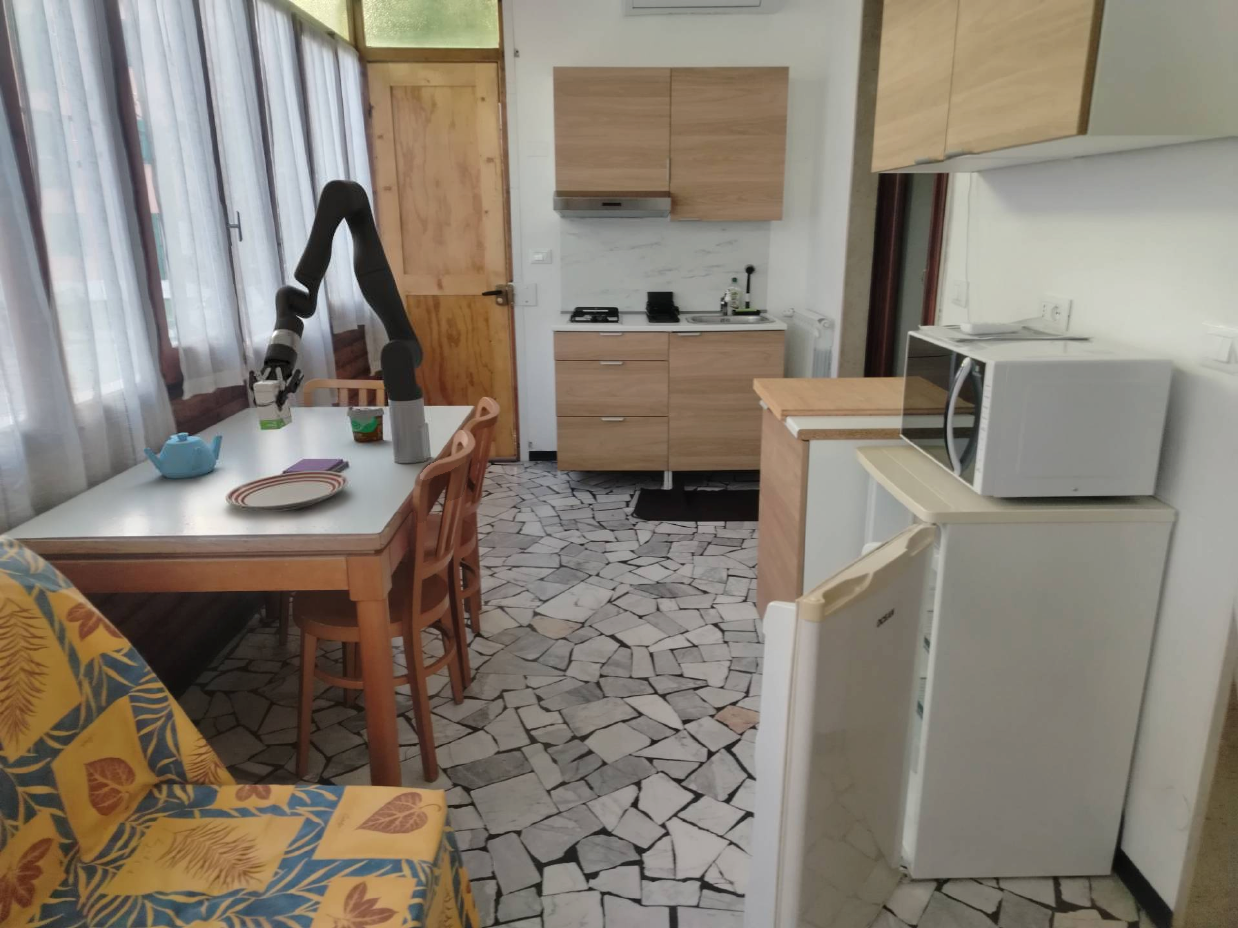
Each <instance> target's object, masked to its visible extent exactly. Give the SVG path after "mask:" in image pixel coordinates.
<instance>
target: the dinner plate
mask: <svg viewBox="0 0 1238 928" xmlns="http://www.w3.org/2000/svg"><path fill="white" fill-rule="evenodd" d="M348 483H349V478H348V477H347V475H345V474H342V473H341V472H338V473H336V472H330V471H304V472H293V473H286V474H281V473H280V474H274V475H271V476H270V475H269V476H266V477H262V478H258V479H255V480H254V479H253V480H251V481H249V482H245V483H242V484H240V485H239V486H236V487H234V488H233V489H231V490H230V491H229V492H227V493H226V495H225V501H226V502H227V504H230V505H232V506H237V507H240V508H241V507H242V508H245V509H253V510H257V511H258V510H259V511H266V512H267V511H269V512H271V511H273V512H274V511H277V512H279V511H289V510H290V511H291V510H295V509H301V508H305V507H309V506H312V505H316V504H318V503H320V502H322V501H324V500H326V499H329V498H331V497H332V496H334V495H336V494H337V493H339V492H340V491H342V490H343V489H345V488H346V486H347V485H348Z"/></svg>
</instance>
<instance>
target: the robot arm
mask: <svg viewBox="0 0 1238 928" xmlns="http://www.w3.org/2000/svg"><path fill="white" fill-rule="evenodd" d="M343 220H345V222H346V224H347V227H348V230H349V232H350V235H351V238H352V239H351V240H352V246H353V248H352V252H353V253H352V266H353V272H354V276H355V278H356V281H357V284H358V287H359V290H360V292H361V294H362V296H363V299H364V300H365V302H366V303H367V304H368V306H369V307H370V308H371V310H372V311H373V312H374V313H375V314H376V316H377V317H378V319H379V320H380V321H381V323H382V325H383V327H384V330H385V333H386V336H387V339H388V342H386V343H385V344H384V345H383V346H382V348H381V350H380V357H379V358H380V359H379V360H380V369H381V376H382V382H383V387H384V390H385V392H386V394H387V400H388V401H387V402H388V408H389V409H388V411H389V420H390V430H391V431H390V432H391V441H392V450H393V459H394V462H395V463H398V464H415V463H424V462H426V461H427V460H428V459H429V458H430V457H431V456H432V454H431V453H432V451H431V444H430V431H429V423H428V422H426V417H425V416H426V415H425V414H426V413H425V404H424V393H423V387H422V386H421V385H419V384H418V383H417V380H416V372H415V370H417V369H418V368H419V367H420V366H421V365H422V363H423V360H424V351H423V347H422V345H421V342H420V341H419V338H418V336H417V334H416V332H415V329H414V327H413V325H412V323H411V322H410V319H409V317H408V314H407V312H406V308H405V305H404V302H403V300H402V297H401V295H400V292H399V290H398V286H397V285H398V284H397V282H396V279H395V278H394V277H395V276H394V274H393V272H392V271H393V270H392V269H391V266H390V263H389V261H388V259H387V256H386V253H385V250H384V247H383V245H382V244H383V243H382V241H381V238H380V236H379V234H378V231H377V227H376V223H375V220H374V216H373V211H372V207H371V203H370V200H369V197H368V194H367V192H366V190H365V188H364V187H363V186H362V185H361V184H360V183H359V182H357V181H355V180H348V179H333V180H329V181H327V183H326V184H325V185H324V186H323V188H322V189H321V192H320V196H319V199H318V204H317V207H316V211H315V216H314V218H313V222H312V226H311V231H310V233H309V237H308V239H307V242H306V246H305V247H304V249H303V252H302V254H301V257H300V258H299V261H298V263H297V264H296V265H297V266H296V268H295V270H294V272H293V277H294V279H295V281H297V282H298V283H300V284H301V285H302V286H303V287H305V288H306V289H307V291H305V290H303V289H300V288H297V287H295V286H293V285H291V284H283V285H282V286H279V288H278V289H277V291H276V293H275V299H274V300H275V303H274V304H275V313H276V318H275V323H274V328H273V331H272V334H271V336H270V338H269V341H268V346H267V349H266V353H265V356H264V359H263V366H262V367H261V369H260V370H258V371H254V370H249V372H248V389H249V390H250V391H251V393H252V394H253V395H254V396H253V400H252V403H253V404H254V406H255V407H256V408H257V404H256V399H255V393H254V387H253V385H254V384H255V383H258V382H260V381H265V380H278V381H279V383H280V385H279V386H280V390H281V391H279V392H278V396H277V400H276V405H277V406H278V407H282V406H283V405H284V404H285V401H286V397H287V395H288V396H289V394H296V393H297V390H298V388H299V387H300V385H301V383H302V381H303V379H304V377H305V375H304V373H303V372H302V370H301V369H300V368H297V369H295V368H296V364H297V361H298V355H299V353H300V350H301V348H300V347H301V341H302V338H303V337H302V336H303V333H304V329H305V323H304V322H303V320H302V319H304V320H307V319H310V318H312V317H313V316H314V314H315V313H316V311H317V306H318V296H319V290H320V287H321V283H322V281H323V279H324V277H325V275H326V273H327V270H328V268H329V266H330V263H331V259H332V253H333V241H334V237H335V234H336V232H337V229H338V228H339V226H340V224H341V223H342V222H343ZM290 378H291V379H290ZM289 380H290V381H289ZM288 381H289V382H288Z"/></svg>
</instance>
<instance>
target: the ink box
mask: <svg viewBox="0 0 1238 928" xmlns="http://www.w3.org/2000/svg"><path fill="white" fill-rule="evenodd" d="M279 385H280V383H279V381H278V380H265V381H260V382H259V381H258V383H255V384H254V385H253V387H254V393H255V394H254V396H255V399H256V404H257V407H256V409H257V415H258V421H259V425H260V431H271V430H281V429H283V428H284V427H286V426H288V425H290V424H291V423H293V416H292V412H291V411H292V410H291V405H290V399H289V394H288V395H287V397H286V401H285V404H284V405H283V406H282V407H278V406H277V405H276V400H277V396H278V392H279V391H281V390H280V386H279Z"/></svg>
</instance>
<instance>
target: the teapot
mask: <svg viewBox="0 0 1238 928" xmlns="http://www.w3.org/2000/svg"><path fill="white" fill-rule="evenodd" d="M222 441H223V434H215V435H214V438H213V439H212V442H211V444H210V446H209V445H208V444H207V443H206V442H205V441H204V440H203V439H202V438H201V437H200V436H194V435H192V436H191V435H190V436H189V433H188V432H180V433H177V434H174V435H169V439H168V440H167V441H165V443H164V444H163V447H162V449H161V451H160V452H159V456H157V455H156V454H155V453H154V452H153V451H152V450H151V448H150V447H146V448H142V451H143V452H144V454H145V455H146V456H147V459H149V461H150V462H151V464H152V465H153V466H154V468H155V469H156V470H157V471H158V472H159V473H161V475H163V476H164V477H165V478H167V479H188V478H189V479H190V478H195V477H200V476H203V475H206V474H209V473H210V472H212V471H213V470H214V468H215V466H216V465H217V460H219V457H220V453H221V452H220V451H221V448H222V447H221V446H222ZM208 472H209V473H208Z"/></svg>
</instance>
